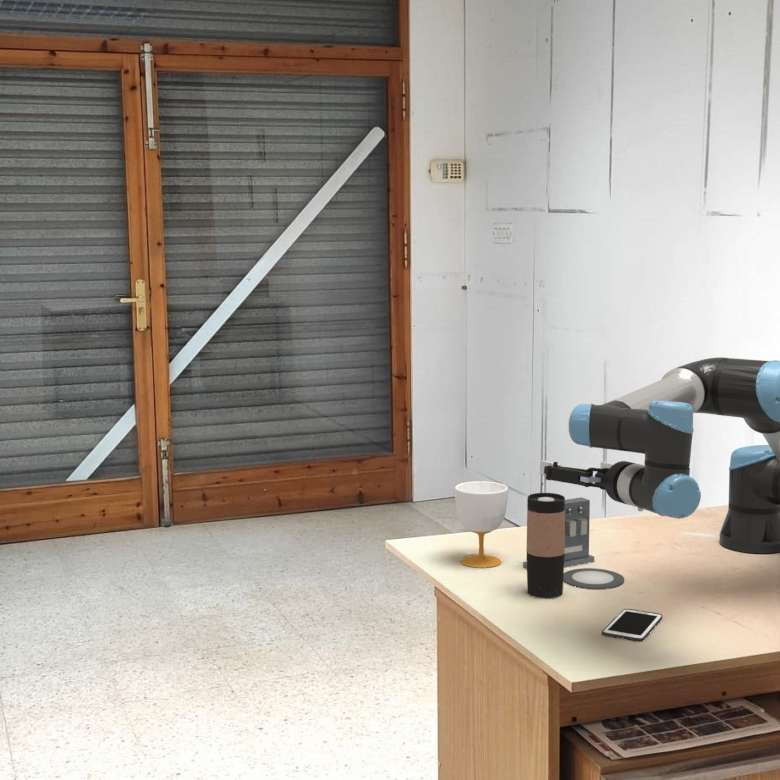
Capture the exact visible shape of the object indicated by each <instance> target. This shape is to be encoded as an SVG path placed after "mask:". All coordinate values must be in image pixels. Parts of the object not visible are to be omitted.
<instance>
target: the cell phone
mask: <svg viewBox="0 0 780 780" xmlns="http://www.w3.org/2000/svg"><path fill="white" fill-rule="evenodd" d="M663 618H664V617H663V614H662V613H658V612H652V611H646V610H639V609H633V608H624V609H622V610H621V611H620V612H619V613H618V614H617V615H616V616H615V617H614V618H613V619H612V620H611V621H610V622H609V623H608V625H607V626H605V627H604V628H603V630H602V631H601V635H602V636H603V637H607V638H614V639H622V638H623V639H622V640H624V639H626V640H625V641H630V640H633V641H634V642H636V641H638V643H641V642H644V641H645V640H646V639H647V638H648V637H649V635H650V634H651V633H652V632H653V631H654V630H655V628H656V627H658V625H659V624H660V622H661V621H662V620H663ZM658 623H659V624H658ZM657 624H658V625H657ZM652 630H653V631H652ZM651 631H652V632H651ZM650 632H651V633H650ZM645 638H646V639H645ZM643 640H644V641H643Z"/></svg>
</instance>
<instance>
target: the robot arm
mask: <svg viewBox="0 0 780 780" xmlns="http://www.w3.org/2000/svg"><path fill="white" fill-rule="evenodd" d="M694 414H706V415H708V414H709V415H716V416H723V417H730V418H732V417H733V418H740V419H741V418H742V419H743V420H744V422H745V423H746V425H747V426H748V428H750V429H751V430H753V431H754V432H756V433H759V434H762V437H764V439H765V441H766V442H767V444H760V445H759V444H756V445H748V446H743V447H739V448H736V449H734V450H733V451H732V452H731V454H730V462H729V467H728V473H729V475H728V479H729V481H728V510H727V514H726V516H725V517H724V518H725V519H724V521H723V522H722V523H723V524H722V526H721V529H720V530H719V531H720V532H719V542H718V543H719V544H720V545H721V546H722V547H725V548H727V549H729V550H733V551H737V552H741V553H743V552H744V553H747V554H748V553H750V554H775V553H780V360H777V359H776V360H775V359H774V360H762V359H761V360H760V359H759V360H758V359H748V358H734V357H731V358H730V357H721V356H720V357H709V358H705V359H699V360H696V361H693V362H689V363H687V364H686V363H685V364H684V365H680V366H677V367H676V368H673V369H670V370H669V371H667V372H666V373H664V375H663V376H662V377H661V379H660V380H658V381H655V382H653V383H650V384H648V385H646V386H644V387H641V388H639V389H636V390H634V391H632V392H630V393H629V392H628V393H627V394H625V395H622V396H619V397H618V398H615V399H613V400H611V401H608V402H605V403H602V404H594V403H589V404H587V403H580V404H577V405H576V406H575V407H574V408H573V409H572V411H571V412H570V415H569V418H568V434H569V437H570V439H571V441H572V442H573V443H575V444H576V445H580V446H584V447H585V446H586V447H589V448H592V449H593V448H597V449H603V450H604V449H606V450H611V451H612V450H614V451H621V452H630V453H637V454H642V455H643V454H644V464H640V463H635V462H630V461H625V460H621V461H617V462H616V463H610V462H607V461H600V466H599V467H589V468H587V469H584V468H577V467H569V466H568V467H567V466H562V465H561V464H559V462H558V461H553V462H551V461H547V460H543V459H542V460H541V459H540V462H539V463H540V464H539V475H541V476H545V480H546V481H554V482H560V483H565V484H572V485H577V486H580V487H582V486H583V487H585V488H589V487H592V488H599V489H600V490H603V491H605V492H606V494H607V495H608V497H609V498H610V499H612V500H613V501H615V502H617V503H622V504H624V505H629V506H632V507H635V508H637V511H638V512H643V511H644V510H645V511H649V512H650V513H654V514H657V515H659V516H661V517H668V518H673V519H678V520H679V519H685V518H687V517H689V516H691V515H693V513H695V511H696V510H697V509H698V507H699V505H700V502H701V497H702V492H701V489H700V487H699V484H698V482H697V481H696V480H695V479H694V478H693V477H692V476H690V473H691V468H690V463H691V455H692V454H691V453H692V443H693V434H694ZM594 472H595V474H594Z"/></svg>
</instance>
